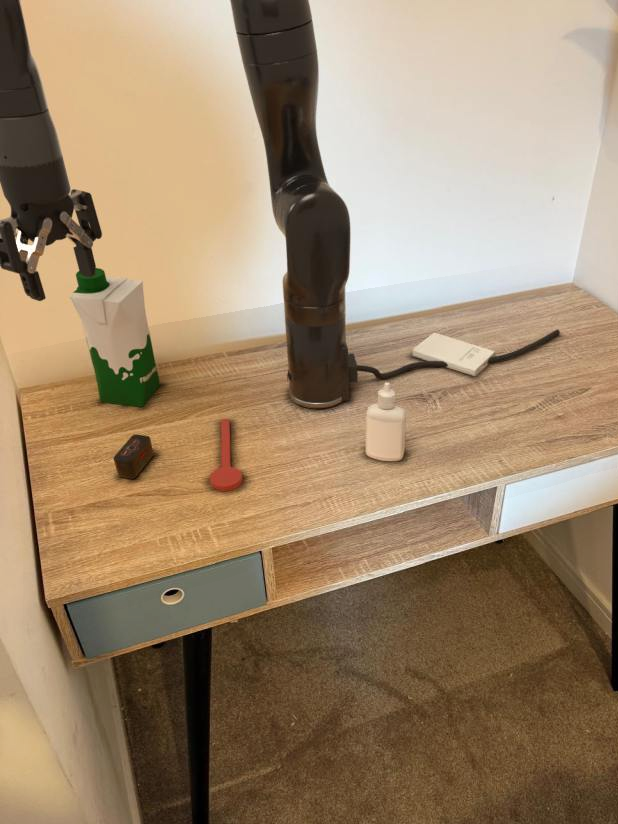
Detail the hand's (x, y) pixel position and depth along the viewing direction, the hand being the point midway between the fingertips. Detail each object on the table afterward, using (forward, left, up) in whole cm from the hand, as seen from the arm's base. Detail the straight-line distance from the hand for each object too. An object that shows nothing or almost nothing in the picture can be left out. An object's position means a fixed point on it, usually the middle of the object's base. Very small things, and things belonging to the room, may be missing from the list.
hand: (64, 286), depth 96 cm
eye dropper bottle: (-41, +11, -23) cm, 49 cm away
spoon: (-18, +9, -23) cm, 31 cm away
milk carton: (-3, -11, -23) cm, 26 cm away
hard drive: (-58, -16, -23) cm, 65 cm away
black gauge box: (-5, +8, -23) cm, 25 cm away
